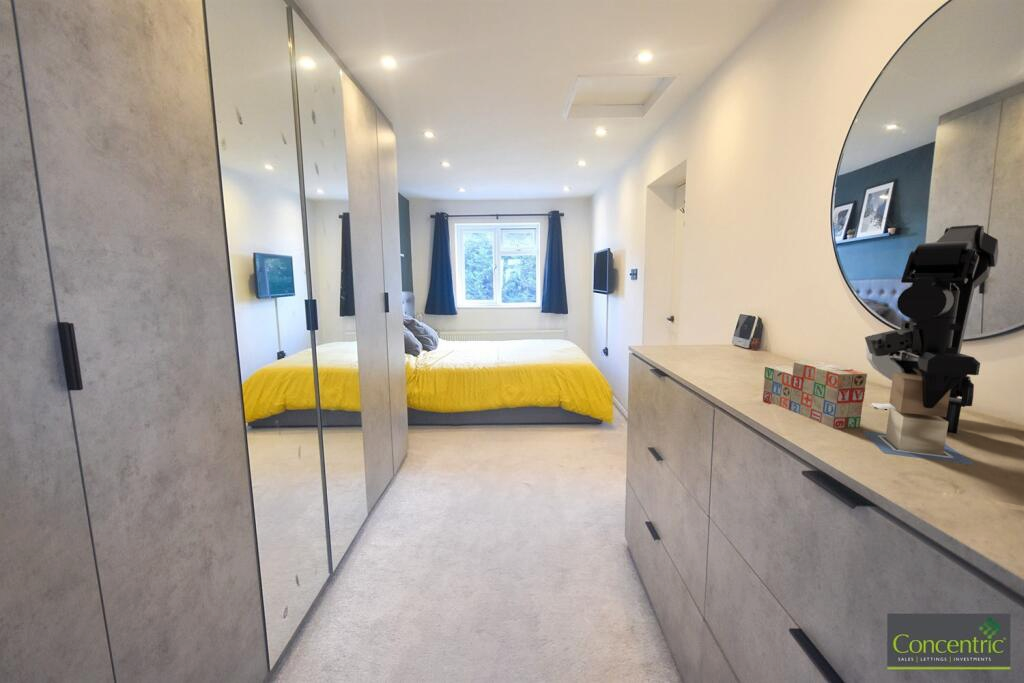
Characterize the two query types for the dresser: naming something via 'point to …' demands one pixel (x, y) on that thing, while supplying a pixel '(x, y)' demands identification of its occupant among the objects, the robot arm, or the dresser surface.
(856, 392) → the stack of blocks
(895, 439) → the beech block
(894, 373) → the walnut block
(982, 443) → the dresser surface
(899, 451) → the board
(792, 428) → the dresser surface
